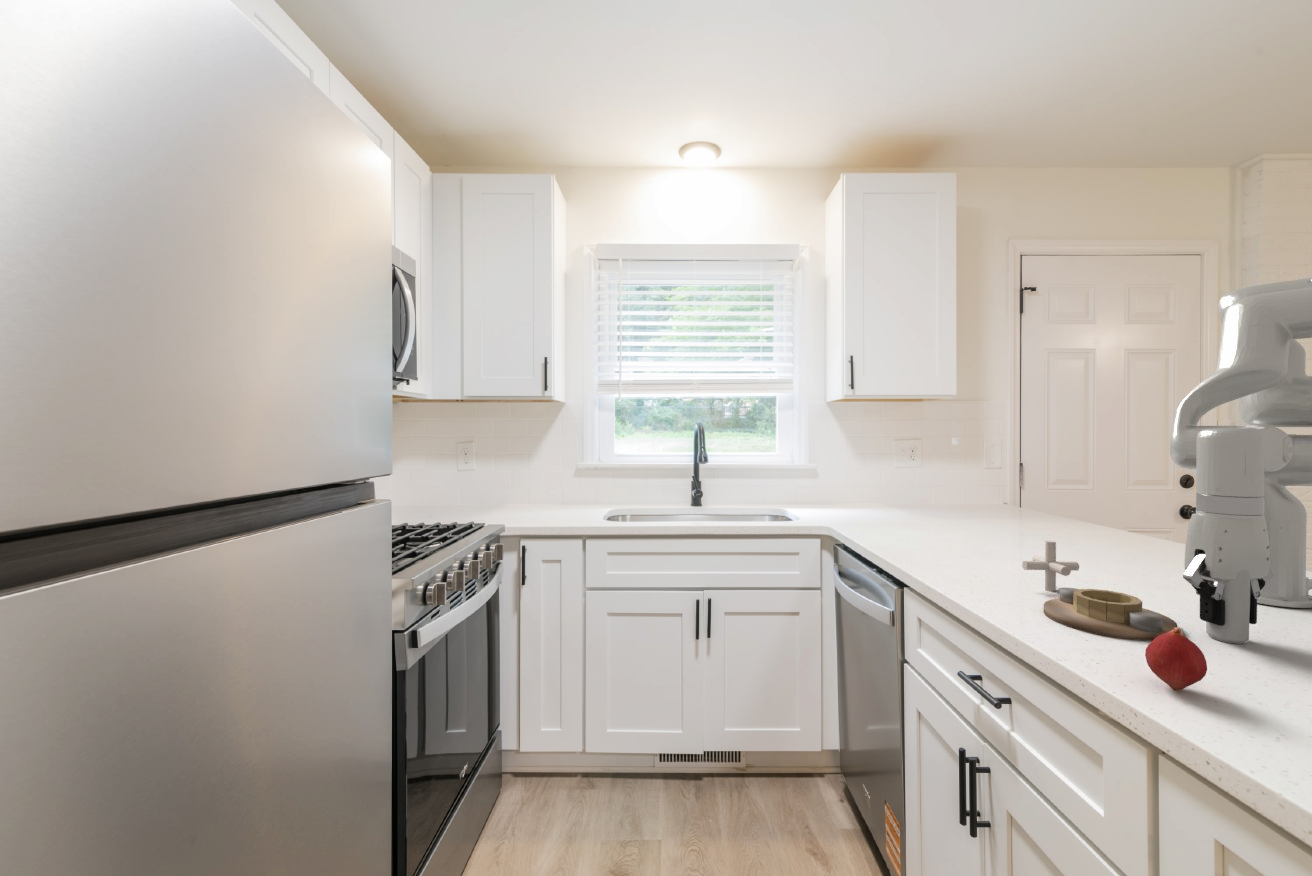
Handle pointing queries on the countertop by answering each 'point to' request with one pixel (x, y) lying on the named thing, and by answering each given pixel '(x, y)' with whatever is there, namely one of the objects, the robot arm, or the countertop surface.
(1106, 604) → the carrier
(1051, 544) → the pipe connector
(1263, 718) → the countertop surface
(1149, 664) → the onion
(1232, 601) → the beverage can
